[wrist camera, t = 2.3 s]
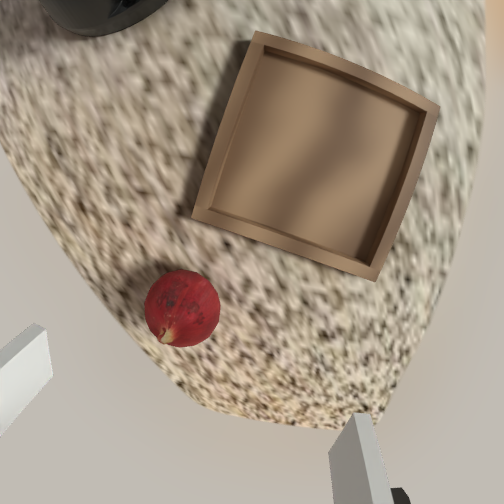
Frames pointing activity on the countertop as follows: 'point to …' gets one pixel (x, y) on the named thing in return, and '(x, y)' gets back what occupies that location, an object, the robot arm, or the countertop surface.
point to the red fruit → (182, 308)
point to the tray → (316, 156)
